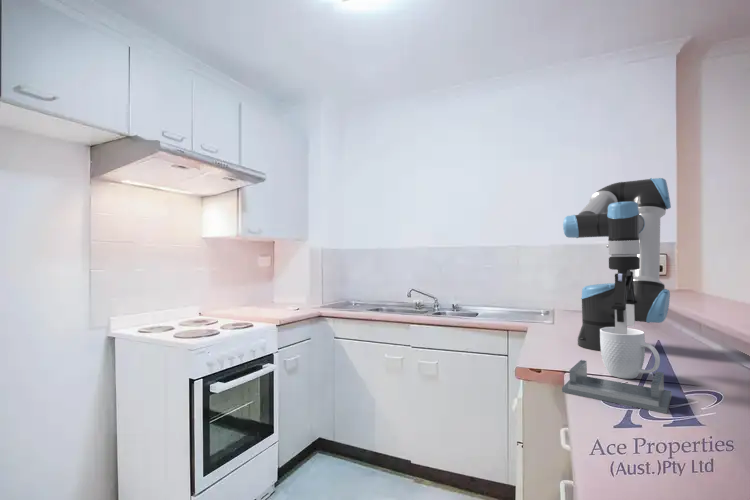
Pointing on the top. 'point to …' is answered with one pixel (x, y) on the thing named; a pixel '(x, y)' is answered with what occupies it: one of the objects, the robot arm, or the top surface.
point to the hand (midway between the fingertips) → (625, 329)
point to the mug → (625, 352)
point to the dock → (619, 390)
